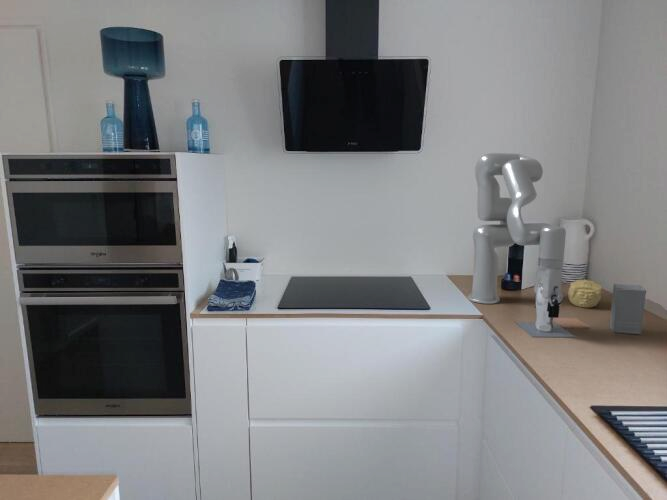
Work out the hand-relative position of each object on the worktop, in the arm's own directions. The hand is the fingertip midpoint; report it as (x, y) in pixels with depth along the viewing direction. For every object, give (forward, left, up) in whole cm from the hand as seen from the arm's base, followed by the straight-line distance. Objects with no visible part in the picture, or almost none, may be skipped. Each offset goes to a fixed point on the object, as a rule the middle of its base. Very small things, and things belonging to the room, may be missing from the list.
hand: (546, 312), depth 152 cm
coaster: (-6, +12, -6) cm, 15 cm away
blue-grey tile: (0, 0, -6) cm, 6 cm away
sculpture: (-28, +29, -6) cm, 41 cm away
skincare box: (+1, +27, -6) cm, 28 cm away
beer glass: (0, 0, -6) cm, 6 cm away
